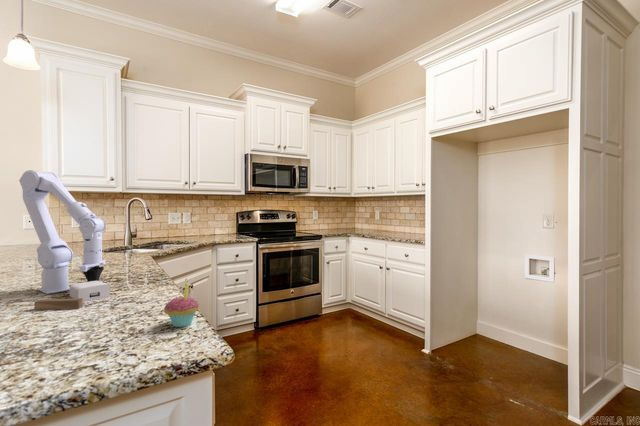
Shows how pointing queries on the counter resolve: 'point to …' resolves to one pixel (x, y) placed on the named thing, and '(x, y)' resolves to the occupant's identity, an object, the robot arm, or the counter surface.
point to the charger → (90, 290)
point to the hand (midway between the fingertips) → (93, 287)
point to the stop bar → (58, 304)
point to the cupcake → (181, 310)
